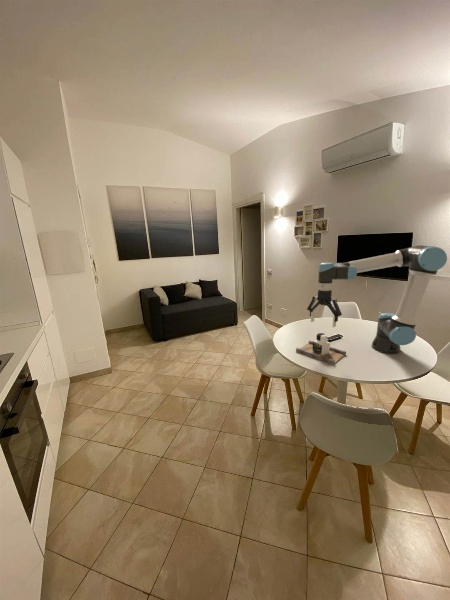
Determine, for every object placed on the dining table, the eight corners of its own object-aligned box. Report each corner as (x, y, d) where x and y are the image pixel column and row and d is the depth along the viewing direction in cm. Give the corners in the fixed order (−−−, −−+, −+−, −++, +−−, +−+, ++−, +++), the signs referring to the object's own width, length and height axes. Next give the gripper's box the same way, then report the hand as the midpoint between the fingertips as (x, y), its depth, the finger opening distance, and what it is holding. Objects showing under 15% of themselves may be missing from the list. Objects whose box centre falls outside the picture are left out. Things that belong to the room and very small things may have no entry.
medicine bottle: (312, 351, 152) (313, 333, 149) (320, 348, 155) (321, 331, 152) (321, 355, 146) (322, 337, 143) (329, 353, 149) (330, 335, 146)
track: (345, 354, 147) (346, 351, 147) (333, 364, 137) (333, 361, 136) (309, 343, 165) (309, 340, 164) (296, 351, 154) (296, 348, 154)
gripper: (302, 288, 147) (301, 321, 153) (344, 293, 129) (341, 330, 134) (308, 286, 152) (307, 318, 157) (349, 291, 134) (346, 327, 139)
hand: (322, 324), depth 146 cm, fingers open, 13 cm apart
